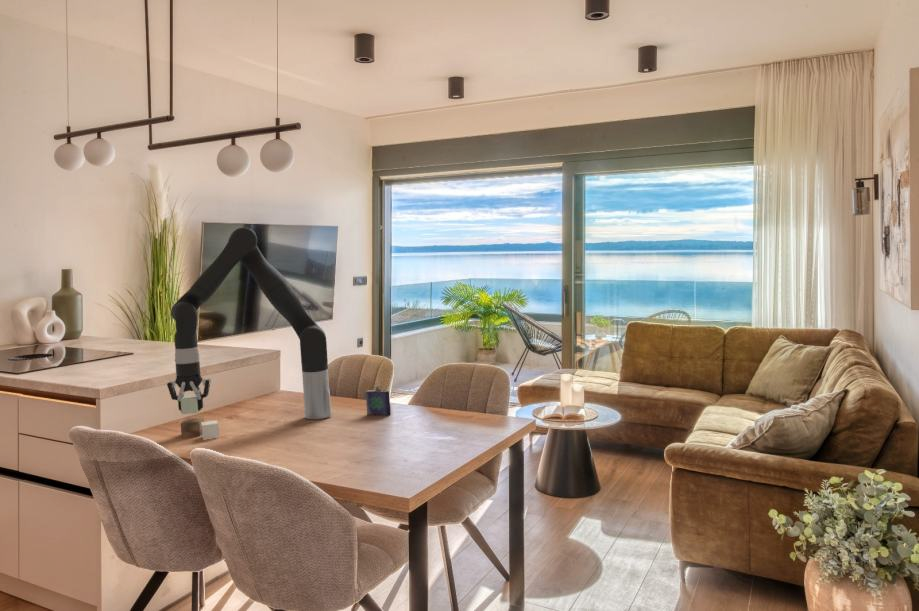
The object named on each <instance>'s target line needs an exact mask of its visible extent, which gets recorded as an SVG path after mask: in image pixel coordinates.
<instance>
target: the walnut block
mask: <svg viewBox="0 0 919 611" xmlns="http://www.w3.org/2000/svg"><path fill="white" fill-rule="evenodd" d="M201 422H205V420H204V417H197V418H185V419H184V420H182V421H181V422H180V433H181V438H193V437H194V438H195V437H196V438H197V437H202V426H201Z"/></svg>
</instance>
